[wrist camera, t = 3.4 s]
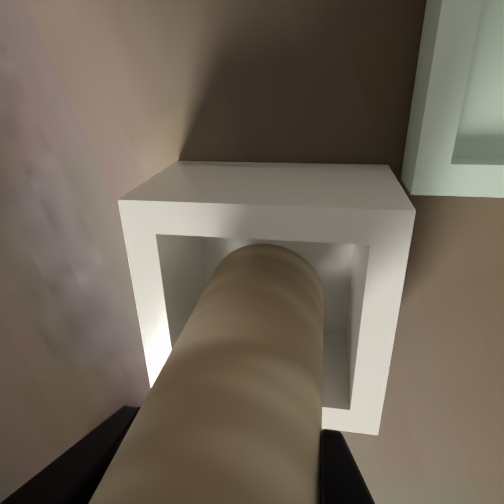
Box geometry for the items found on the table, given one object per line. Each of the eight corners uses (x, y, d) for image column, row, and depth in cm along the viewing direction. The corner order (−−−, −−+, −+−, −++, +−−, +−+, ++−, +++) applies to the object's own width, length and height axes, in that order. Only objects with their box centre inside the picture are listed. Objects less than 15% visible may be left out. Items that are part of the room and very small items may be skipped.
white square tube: (388, 164, 14) (416, 210, 10) (365, 341, 18) (377, 435, 13) (177, 160, 15) (117, 199, 11) (194, 326, 19) (153, 406, 14)
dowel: (327, 246, 13) (328, 681, 4) (320, 345, 14) (310, 804, 5) (207, 240, 13) (-34, 597, 4) (214, 335, 15) (51, 731, 6)
